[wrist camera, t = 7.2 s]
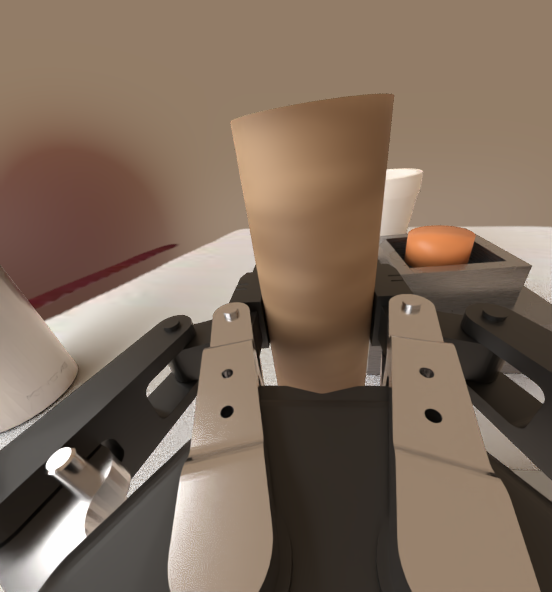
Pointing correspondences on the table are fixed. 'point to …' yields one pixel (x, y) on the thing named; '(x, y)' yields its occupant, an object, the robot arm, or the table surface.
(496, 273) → the grey button housing
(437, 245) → the breaker button
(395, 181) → the foam cup
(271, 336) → the stick
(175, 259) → the table surface
